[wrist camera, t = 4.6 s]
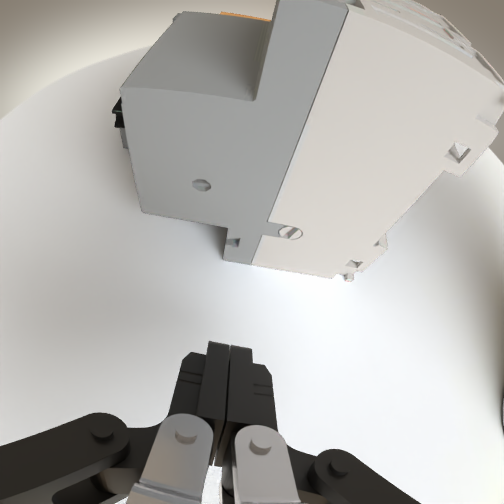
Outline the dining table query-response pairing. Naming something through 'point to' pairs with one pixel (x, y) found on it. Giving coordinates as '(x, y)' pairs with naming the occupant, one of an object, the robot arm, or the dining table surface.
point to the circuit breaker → (305, 125)
